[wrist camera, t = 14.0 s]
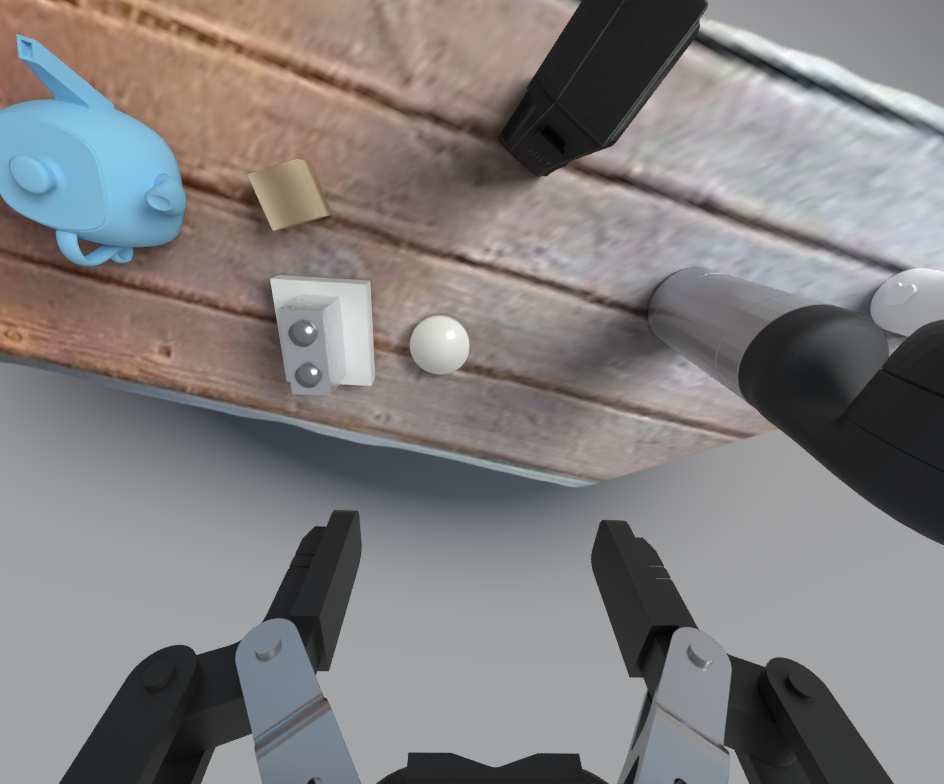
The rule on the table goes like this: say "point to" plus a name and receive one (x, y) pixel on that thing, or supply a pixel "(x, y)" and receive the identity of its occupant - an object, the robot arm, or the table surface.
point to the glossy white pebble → (439, 344)
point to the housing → (314, 344)
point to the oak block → (290, 194)
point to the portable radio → (598, 78)
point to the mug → (909, 301)
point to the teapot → (87, 167)
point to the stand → (353, 319)
